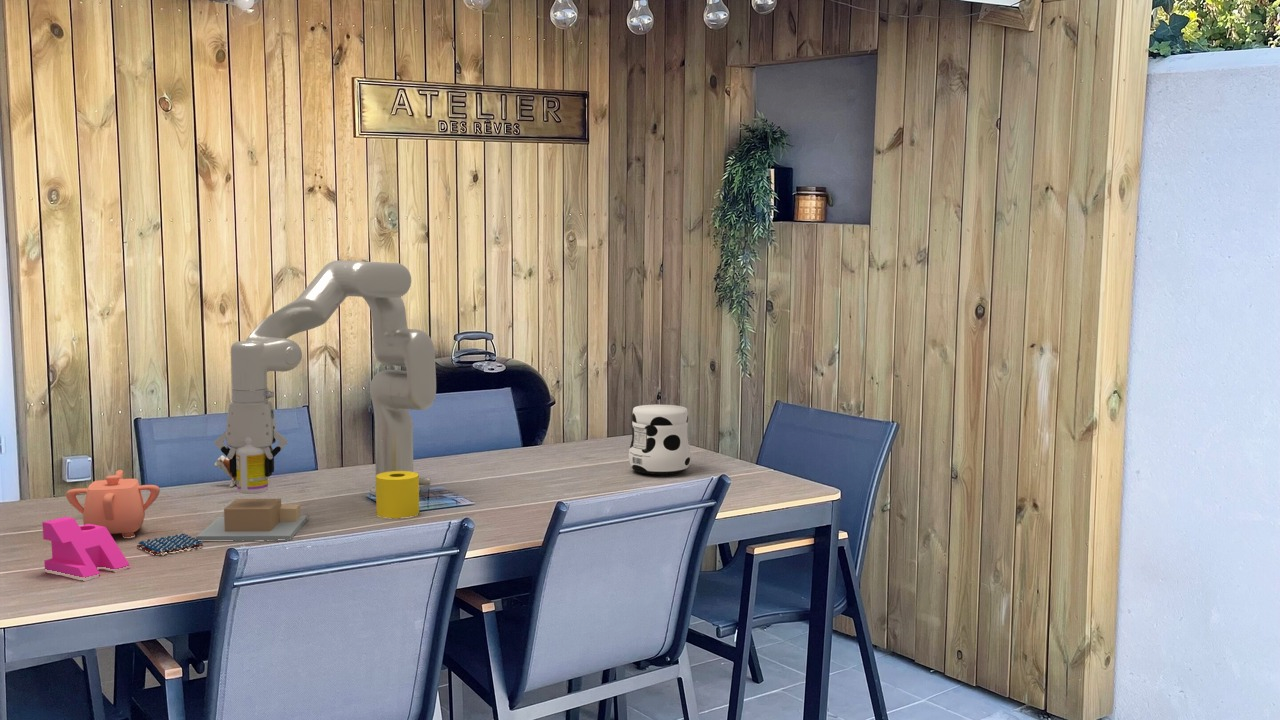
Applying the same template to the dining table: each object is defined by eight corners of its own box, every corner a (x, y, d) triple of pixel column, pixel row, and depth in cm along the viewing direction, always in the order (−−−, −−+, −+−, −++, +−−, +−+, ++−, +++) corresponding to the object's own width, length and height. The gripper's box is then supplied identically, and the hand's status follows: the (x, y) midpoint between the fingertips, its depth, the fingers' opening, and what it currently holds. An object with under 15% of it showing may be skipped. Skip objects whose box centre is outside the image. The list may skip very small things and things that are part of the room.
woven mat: (134, 550, 258) (134, 541, 257) (183, 541, 265) (183, 532, 265) (155, 560, 250) (155, 550, 250) (205, 550, 258) (204, 541, 257)
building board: (307, 520, 282) (306, 494, 281) (289, 541, 264) (289, 513, 263) (220, 521, 281) (219, 494, 280) (196, 541, 263) (195, 513, 262)
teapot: (110, 546, 258) (108, 486, 257) (59, 537, 265) (56, 478, 264) (171, 529, 273) (169, 472, 272) (122, 521, 280) (119, 465, 279)
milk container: (694, 467, 346) (695, 404, 344) (685, 479, 329) (686, 414, 327) (634, 464, 349) (635, 402, 347) (623, 477, 332) (623, 412, 330)
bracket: (45, 572, 239) (42, 522, 238) (90, 560, 248) (88, 511, 247) (84, 582, 234) (82, 530, 232) (129, 569, 243) (127, 518, 241)
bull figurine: (215, 485, 318) (214, 454, 317) (268, 482, 323) (267, 451, 322) (214, 488, 314) (213, 457, 313) (268, 485, 318) (268, 454, 318)
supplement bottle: (274, 489, 273) (272, 433, 272) (255, 495, 267) (254, 438, 265) (249, 487, 275) (247, 431, 274) (230, 493, 269) (228, 436, 268)
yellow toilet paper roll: (419, 508, 295) (418, 470, 293) (419, 518, 285) (418, 479, 284) (377, 509, 293) (376, 471, 292) (375, 519, 283) (374, 480, 282)
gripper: (293, 394, 273) (295, 472, 275) (215, 394, 272) (217, 472, 274) (285, 399, 265) (287, 479, 267) (205, 399, 264) (207, 479, 266)
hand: (252, 475), depth 271 cm, fingers closed on supplement bottle, 6 cm apart
